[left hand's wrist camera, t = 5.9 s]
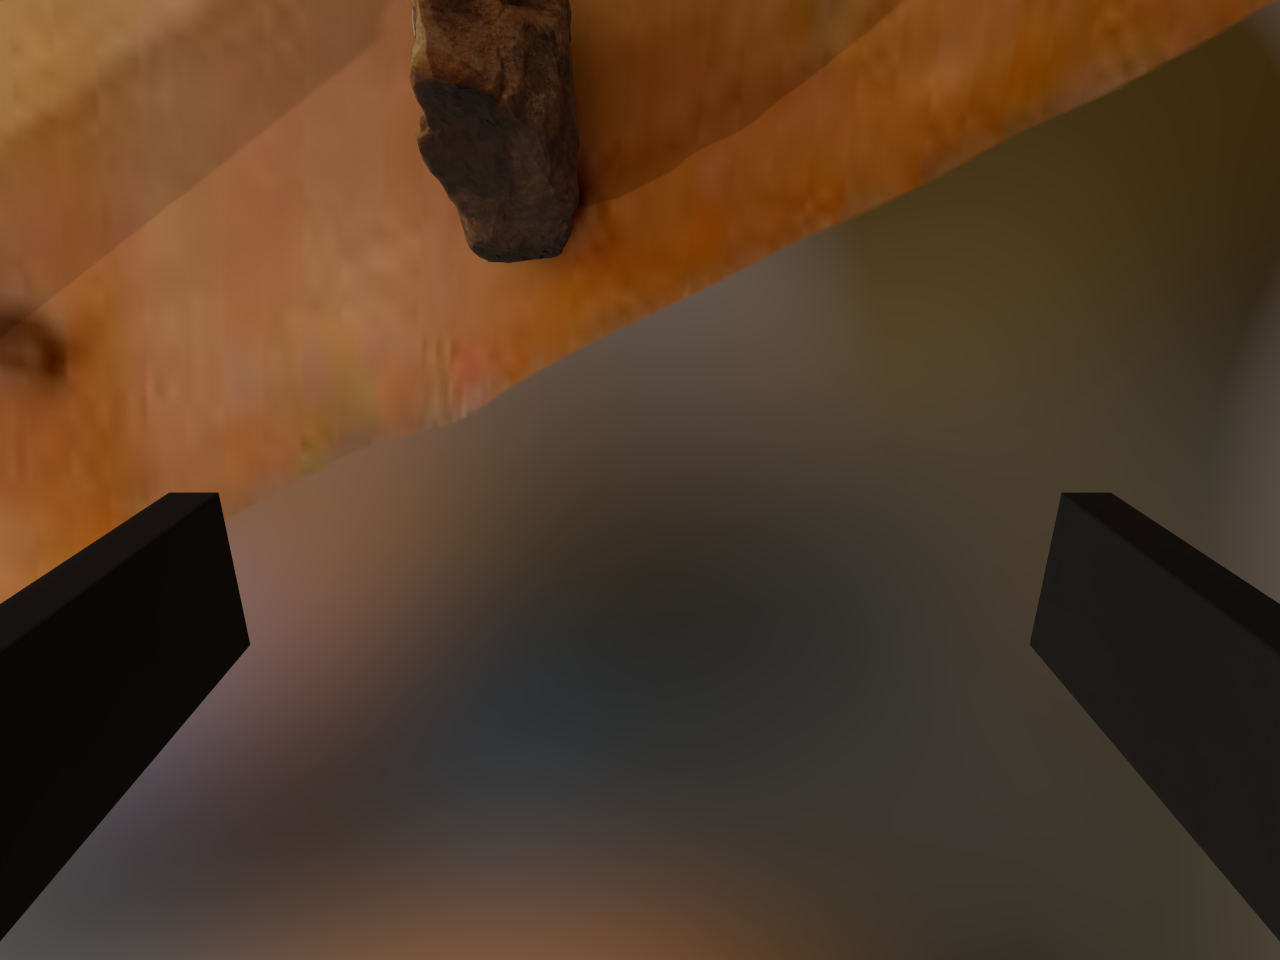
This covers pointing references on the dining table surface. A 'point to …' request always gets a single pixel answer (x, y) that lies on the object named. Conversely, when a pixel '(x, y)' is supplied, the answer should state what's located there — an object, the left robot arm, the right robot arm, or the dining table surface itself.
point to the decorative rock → (500, 120)
